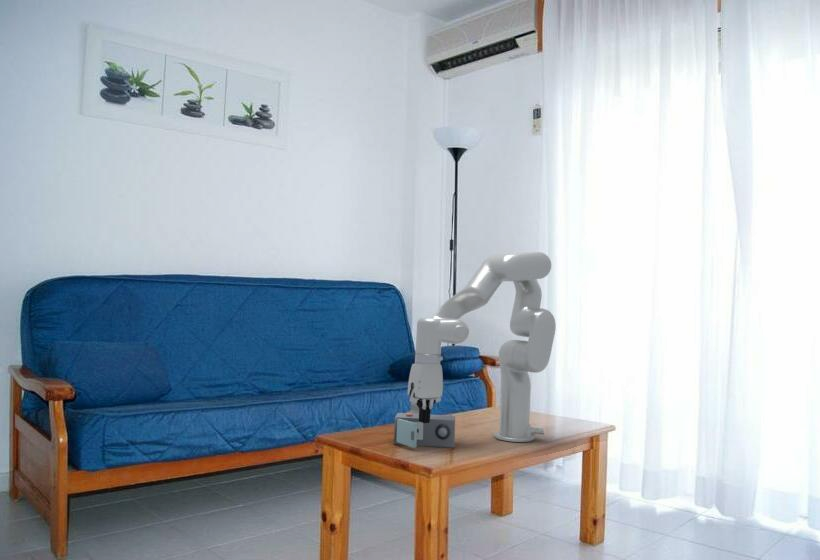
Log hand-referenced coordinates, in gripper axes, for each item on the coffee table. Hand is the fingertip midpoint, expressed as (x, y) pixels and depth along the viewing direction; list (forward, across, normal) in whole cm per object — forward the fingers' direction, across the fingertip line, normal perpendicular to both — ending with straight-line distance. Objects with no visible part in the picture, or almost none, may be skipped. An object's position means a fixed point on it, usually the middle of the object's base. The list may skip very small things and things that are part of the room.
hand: (424, 422), depth 190 cm
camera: (+8, -16, -21) cm, 28 cm away
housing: (+8, -5, -5) cm, 10 cm away
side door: (+7, +5, -2) cm, 9 cm away
